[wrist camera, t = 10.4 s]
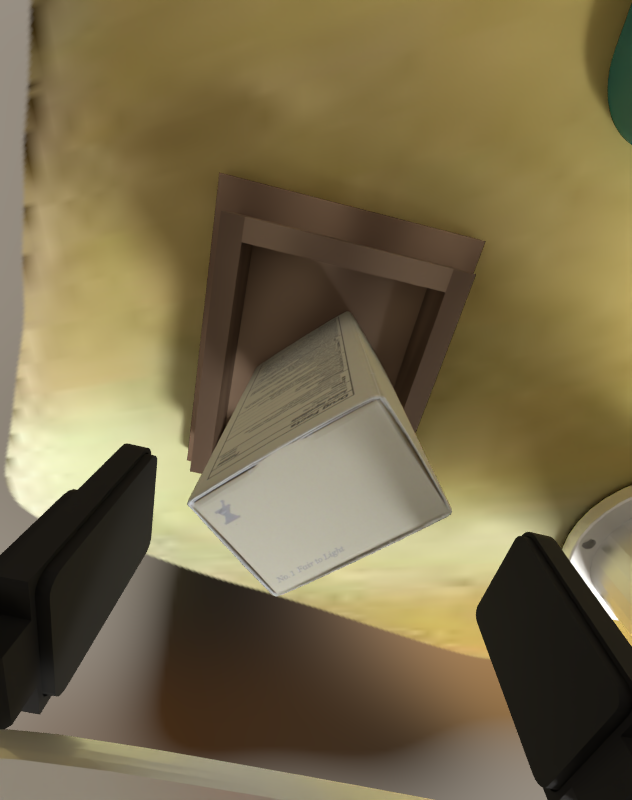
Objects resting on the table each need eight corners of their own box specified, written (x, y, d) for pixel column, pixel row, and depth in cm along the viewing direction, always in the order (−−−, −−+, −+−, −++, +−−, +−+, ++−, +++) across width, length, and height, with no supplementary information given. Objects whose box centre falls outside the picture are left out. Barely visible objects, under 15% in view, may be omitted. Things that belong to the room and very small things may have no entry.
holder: (478, 240, 20) (512, 243, 16) (385, 491, 26) (394, 534, 22) (224, 175, 19) (200, 162, 15) (192, 451, 25) (169, 489, 22)
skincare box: (296, 424, 23) (270, 606, 12) (252, 363, 22) (175, 506, 10) (391, 371, 22) (461, 521, 10) (350, 302, 20) (382, 392, 9)
